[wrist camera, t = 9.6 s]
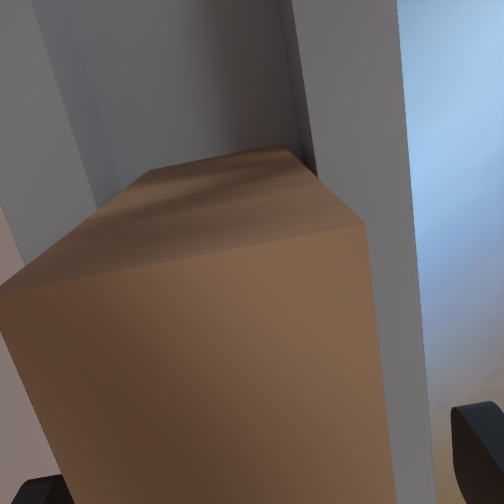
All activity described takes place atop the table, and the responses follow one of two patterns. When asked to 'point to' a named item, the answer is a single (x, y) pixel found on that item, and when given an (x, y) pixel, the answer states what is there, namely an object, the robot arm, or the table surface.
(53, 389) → the wooden framed block
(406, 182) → the picture ledge
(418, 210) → the table surface
